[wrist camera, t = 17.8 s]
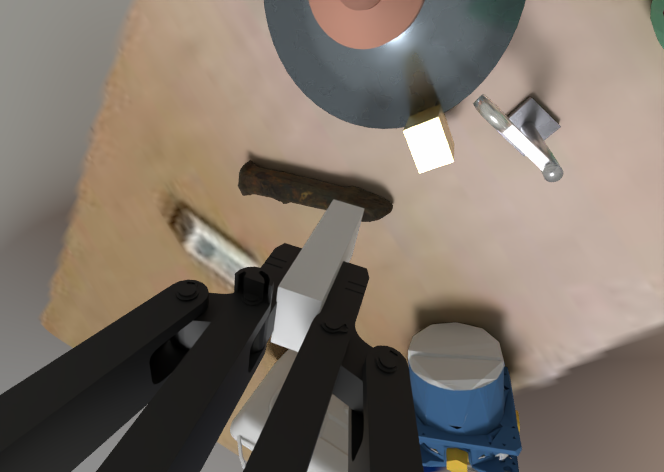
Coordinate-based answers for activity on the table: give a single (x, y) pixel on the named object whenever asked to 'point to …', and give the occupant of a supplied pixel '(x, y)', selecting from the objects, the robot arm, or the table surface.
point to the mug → (658, 19)
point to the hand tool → (308, 191)
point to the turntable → (398, 67)
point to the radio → (246, 427)
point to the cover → (365, 20)
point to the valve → (463, 400)
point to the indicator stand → (525, 132)
